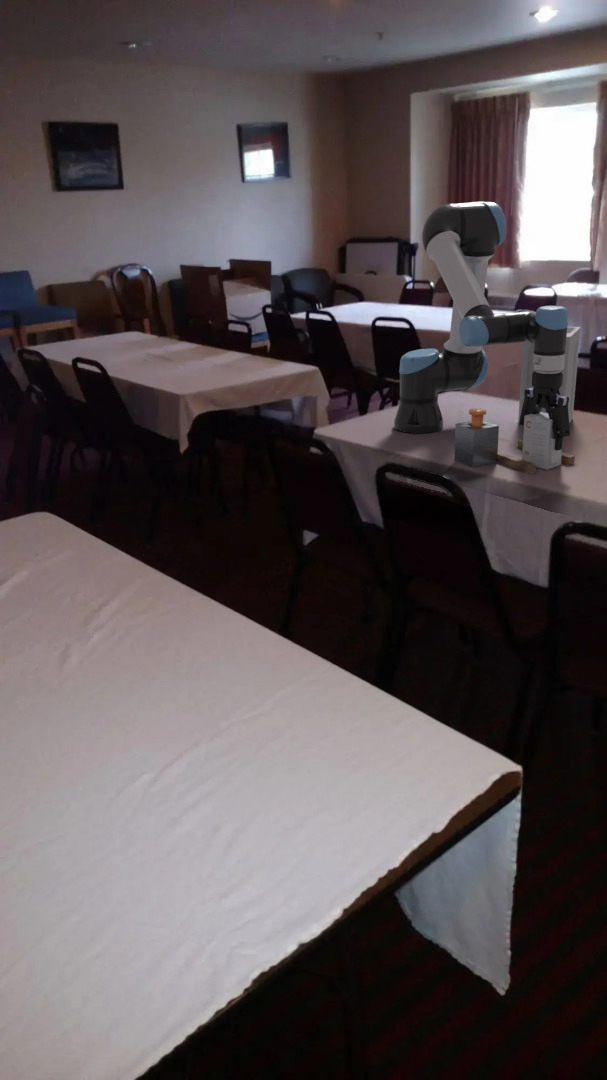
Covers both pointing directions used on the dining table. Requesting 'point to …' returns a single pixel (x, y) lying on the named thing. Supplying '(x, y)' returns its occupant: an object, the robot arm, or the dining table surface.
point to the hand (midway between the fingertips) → (541, 457)
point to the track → (526, 465)
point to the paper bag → (568, 370)
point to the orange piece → (477, 417)
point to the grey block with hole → (476, 443)
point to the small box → (538, 440)
